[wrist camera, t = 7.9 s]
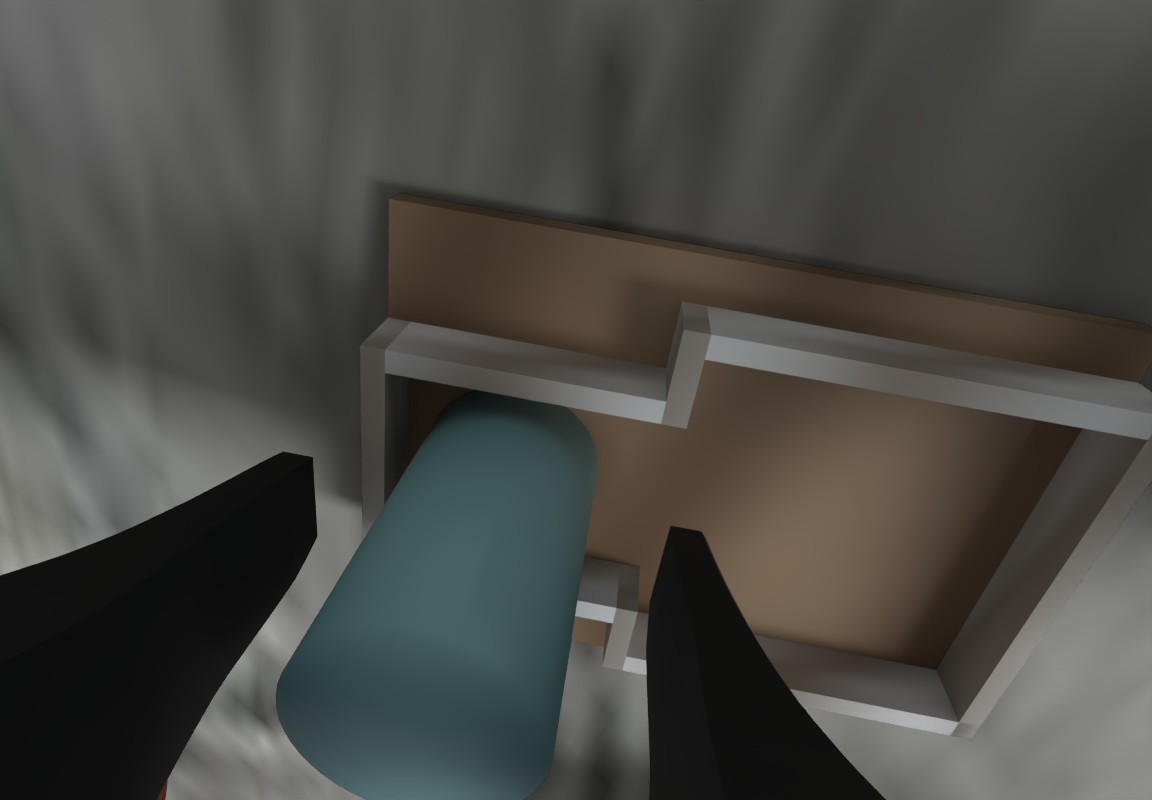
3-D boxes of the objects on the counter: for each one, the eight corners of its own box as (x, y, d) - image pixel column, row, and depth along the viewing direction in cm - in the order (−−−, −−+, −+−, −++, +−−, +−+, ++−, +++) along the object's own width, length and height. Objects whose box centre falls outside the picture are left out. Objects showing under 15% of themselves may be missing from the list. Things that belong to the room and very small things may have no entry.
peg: (618, 413, 15) (584, 679, 8) (573, 547, 16) (520, 843, 10) (442, 363, 14) (280, 596, 8) (418, 504, 16) (272, 776, 10)
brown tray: (1147, 324, 13) (1228, 370, 11) (924, 692, 18) (953, 764, 16) (399, 193, 13) (357, 216, 12) (393, 587, 19) (364, 646, 17)
